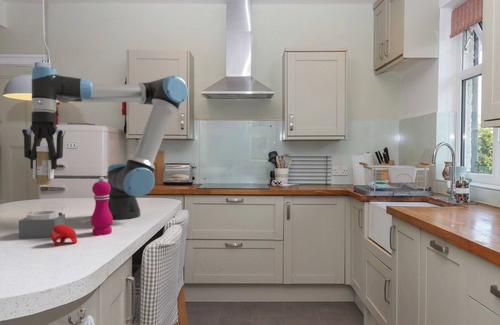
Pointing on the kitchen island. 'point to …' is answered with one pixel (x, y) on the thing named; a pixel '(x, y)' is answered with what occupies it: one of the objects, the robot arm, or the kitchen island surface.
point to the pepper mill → (101, 208)
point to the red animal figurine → (63, 234)
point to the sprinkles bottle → (42, 165)
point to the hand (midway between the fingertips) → (43, 178)
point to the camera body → (40, 224)
